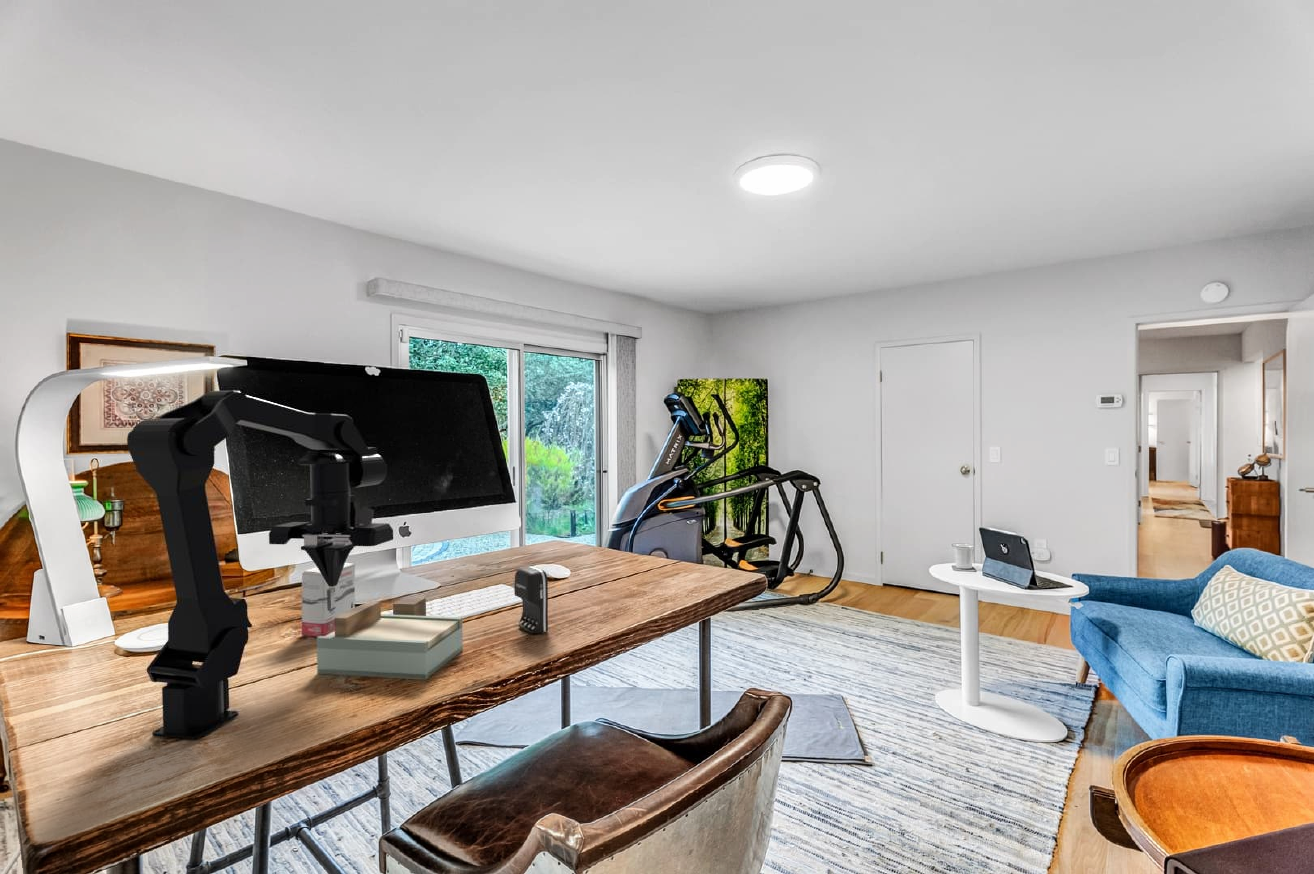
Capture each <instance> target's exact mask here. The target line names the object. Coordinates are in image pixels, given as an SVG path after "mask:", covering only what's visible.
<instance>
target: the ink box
mask: <svg viewBox="0 0 1314 874" xmlns="http://www.w3.org/2000/svg"><path fill="white" fill-rule="evenodd" d="M355 574H356V564H355V563H351V562H346V561H345V564H344V567H343V570H342V572H341V575H340V578H339V581H338V584H337V585H336V586H334V587H329V586H328V584H327V583H326V581H325V579H324V578H323V576H322V574H321V573H320V571H319V569H318V568H317V566H315V567H313V568H307V569H305V570H304V571H303V572H302V573H301V575H302V576H301V636H303V637H304V636H306V637H316V638H317V637H319V636H326V635H328V634H330V633H332V632H334V631H335V623H334V618H335V617H337V616H339V615H341V614H343V613H346V612H348V611H350V610H352V609H354V608H356V606H355V602H356V601H355V600H356V599H355V598H356V597H355V596H356V595H355V591H356V589H355V588H356V586H355V582H356V577H355V576H356V575H355Z"/></svg>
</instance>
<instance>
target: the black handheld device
mask: <svg viewBox="0 0 1314 874" xmlns="http://www.w3.org/2000/svg"><path fill="white" fill-rule="evenodd" d="M513 584H514V587H513V588H514V589H513V590H514V596H515V597H518V598H520V599H521V600H522V613H521V617H520V620H519V622H518V627H519V628H520V629H521V630H522V631H525V632H527V633H530V634H532V635H534V634H535V635H536V634H541V633H545V632H548V630H549V618H548V617H549V610H548V609H549V588H548V587H549V585H548V575H547V573H546V571H545V570H543V569H541V568H538V567H535V566H527V567H522V568H519V569H518V570H516V571H515V574H514V583H513Z"/></svg>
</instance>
